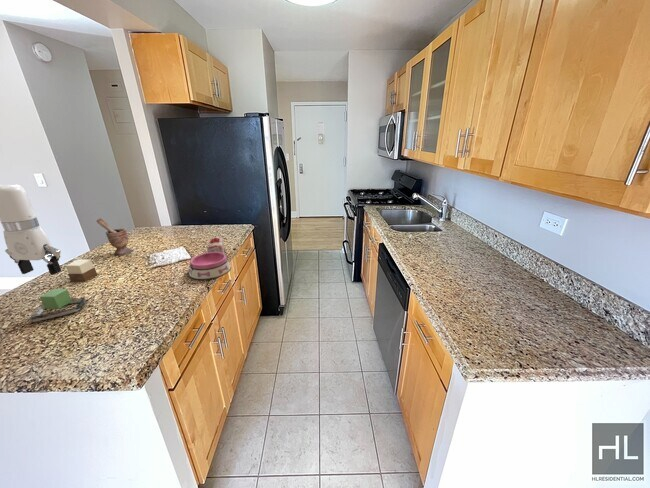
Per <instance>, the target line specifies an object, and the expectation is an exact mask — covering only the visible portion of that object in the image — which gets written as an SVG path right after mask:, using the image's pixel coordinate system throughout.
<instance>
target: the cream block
mask: <svg viewBox="0 0 650 488" xmlns="http://www.w3.org/2000/svg"><path fill="white" fill-rule="evenodd" d="M94 267H95V266H94V264H93V262H92V259H77V260H74V261H72V262H70V263H68V264H66V265H65V268H66V271H67V273H68V274H83V273H85V272H87V271H88V270H90V269H92V268H94Z"/></svg>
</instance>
